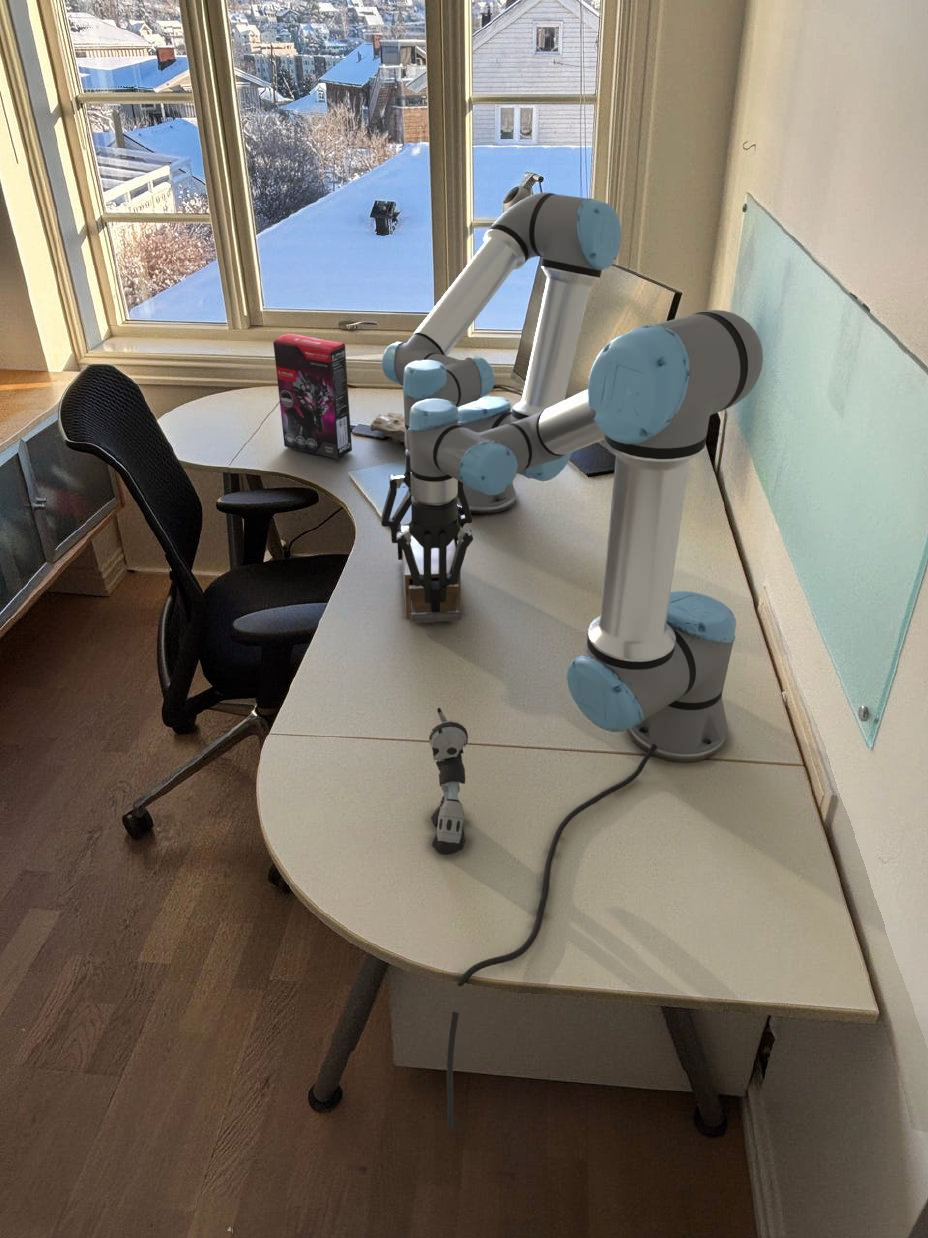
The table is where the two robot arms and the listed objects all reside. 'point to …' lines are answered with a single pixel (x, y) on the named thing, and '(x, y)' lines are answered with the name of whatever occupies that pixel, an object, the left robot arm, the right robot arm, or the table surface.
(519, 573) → the table surface
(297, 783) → the table surface
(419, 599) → the wooden drawer
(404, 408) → the left robot arm
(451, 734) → the robot
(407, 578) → the wooden drawer box
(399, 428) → the stone
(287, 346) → the graphics card box
